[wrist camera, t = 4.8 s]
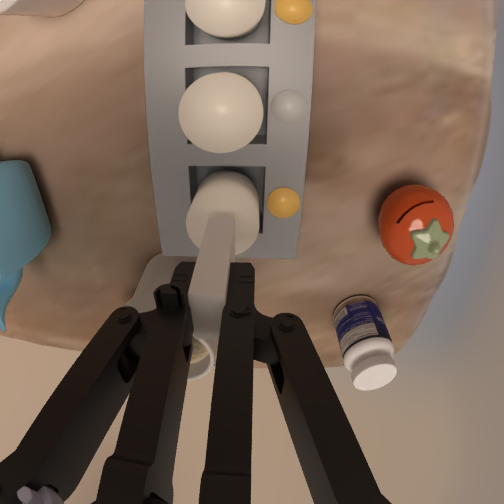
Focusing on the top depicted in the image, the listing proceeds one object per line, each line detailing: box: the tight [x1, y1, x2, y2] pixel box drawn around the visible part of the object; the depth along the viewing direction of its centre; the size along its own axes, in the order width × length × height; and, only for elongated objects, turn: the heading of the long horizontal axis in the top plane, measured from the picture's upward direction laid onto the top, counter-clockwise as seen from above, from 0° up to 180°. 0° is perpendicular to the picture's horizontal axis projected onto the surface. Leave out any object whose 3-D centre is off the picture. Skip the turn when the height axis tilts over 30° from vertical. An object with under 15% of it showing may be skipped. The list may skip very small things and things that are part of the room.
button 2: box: [185, 0, 266, 40], centre depth 15 cm, size 5×5×4 cm
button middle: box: [178, 72, 263, 153], centre depth 17 cm, size 5×5×4 cm
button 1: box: [186, 170, 259, 255], centre depth 21 cm, size 5×5×4 cm
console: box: [144, 0, 316, 259], centre depth 21 cm, size 11×24×5 cm, turn 179°
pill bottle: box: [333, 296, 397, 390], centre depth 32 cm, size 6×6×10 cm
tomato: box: [378, 184, 454, 265], centre depth 25 cm, size 7×7×8 cm
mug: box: [122, 253, 217, 381], centre depth 29 cm, size 11×10×10 cm
